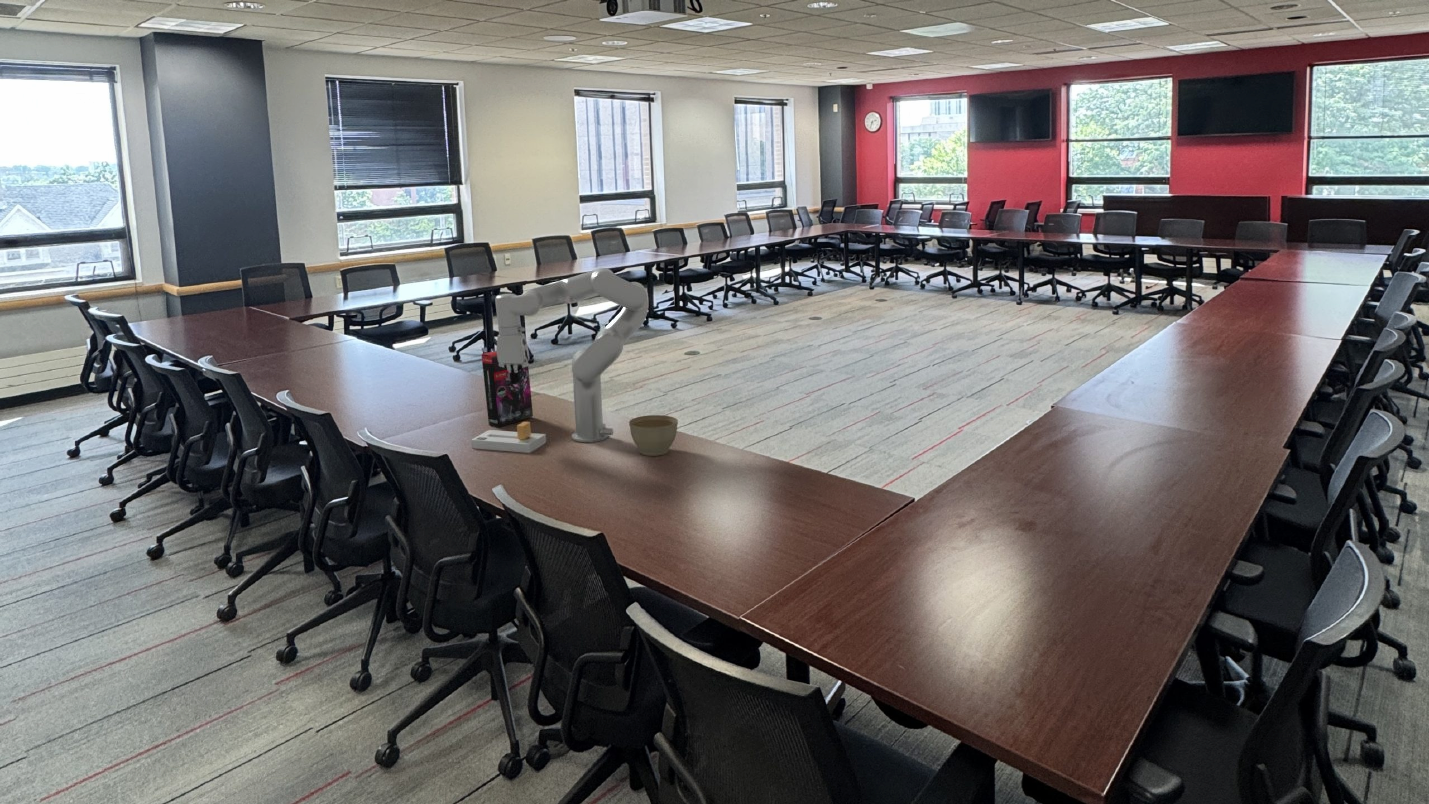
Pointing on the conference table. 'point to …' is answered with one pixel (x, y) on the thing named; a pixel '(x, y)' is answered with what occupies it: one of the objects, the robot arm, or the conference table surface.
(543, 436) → the slider switch
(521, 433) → the orange slider handle
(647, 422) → the planter bowl
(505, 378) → the graphics card box
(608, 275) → the robot arm
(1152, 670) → the conference table surface
